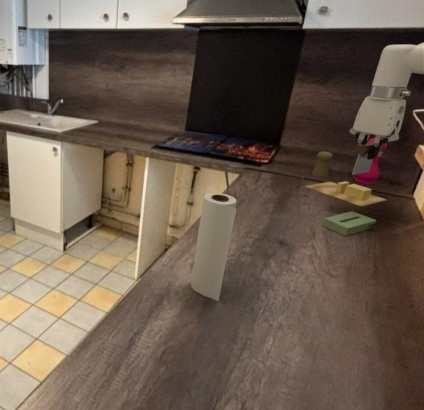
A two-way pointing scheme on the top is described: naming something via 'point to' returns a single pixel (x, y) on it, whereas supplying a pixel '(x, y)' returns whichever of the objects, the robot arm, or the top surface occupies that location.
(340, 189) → the butter pat
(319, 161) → the cork
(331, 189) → the board
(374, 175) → the pepper mill
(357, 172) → the scraper
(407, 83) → the robot arm
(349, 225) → the stand
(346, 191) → the butter block
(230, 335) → the top surface
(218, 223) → the paper towel roll
